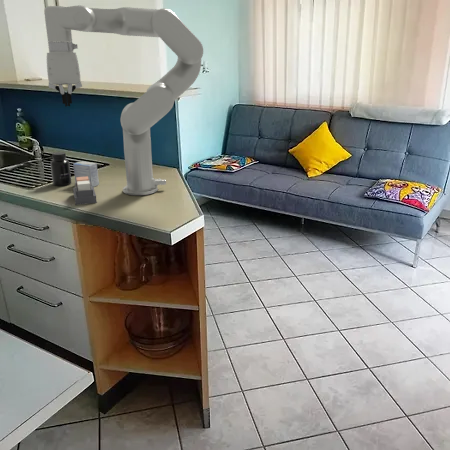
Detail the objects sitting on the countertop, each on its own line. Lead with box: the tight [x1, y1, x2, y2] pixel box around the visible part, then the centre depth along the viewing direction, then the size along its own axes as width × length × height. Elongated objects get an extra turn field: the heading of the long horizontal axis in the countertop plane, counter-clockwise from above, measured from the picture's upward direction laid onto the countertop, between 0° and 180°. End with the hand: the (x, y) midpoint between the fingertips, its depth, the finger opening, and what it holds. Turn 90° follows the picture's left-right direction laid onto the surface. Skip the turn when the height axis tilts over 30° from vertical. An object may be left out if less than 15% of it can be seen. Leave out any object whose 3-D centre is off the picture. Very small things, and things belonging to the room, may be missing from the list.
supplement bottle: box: [50, 151, 72, 187], centre depth 181 cm, size 7×7×12 cm
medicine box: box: [73, 161, 100, 188], centre depth 180 cm, size 8×4×9 cm, turn 66°
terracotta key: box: [76, 176, 89, 181], centre depth 166 cm, size 4×4×3 cm
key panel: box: [72, 182, 98, 206], centre depth 165 cm, size 7×12×4 cm, turn 19°
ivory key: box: [77, 180, 91, 191], centre depth 161 cm, size 4×4×3 cm
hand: (67, 105), depth 160 cm, fingers closed
